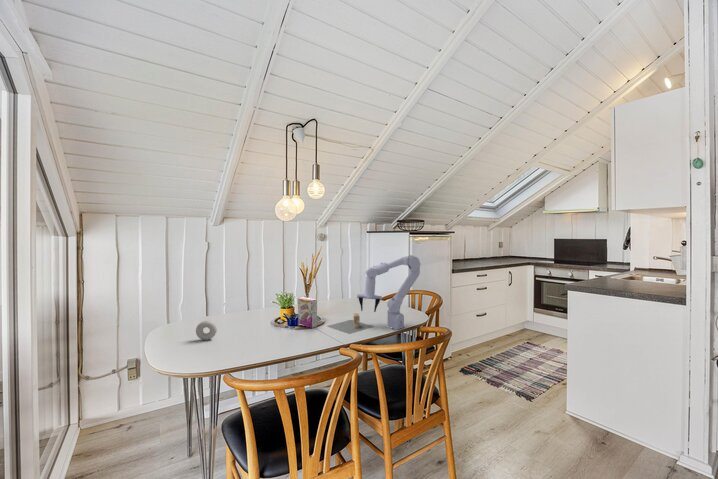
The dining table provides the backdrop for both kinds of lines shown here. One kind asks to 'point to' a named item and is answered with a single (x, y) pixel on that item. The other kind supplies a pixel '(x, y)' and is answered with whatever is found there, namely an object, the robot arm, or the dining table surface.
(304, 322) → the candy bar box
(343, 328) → the rubber mat
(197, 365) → the dining table surface
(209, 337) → the donut
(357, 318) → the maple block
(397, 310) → the robot arm
